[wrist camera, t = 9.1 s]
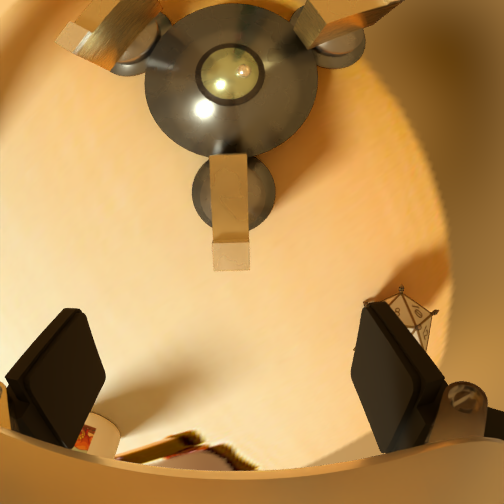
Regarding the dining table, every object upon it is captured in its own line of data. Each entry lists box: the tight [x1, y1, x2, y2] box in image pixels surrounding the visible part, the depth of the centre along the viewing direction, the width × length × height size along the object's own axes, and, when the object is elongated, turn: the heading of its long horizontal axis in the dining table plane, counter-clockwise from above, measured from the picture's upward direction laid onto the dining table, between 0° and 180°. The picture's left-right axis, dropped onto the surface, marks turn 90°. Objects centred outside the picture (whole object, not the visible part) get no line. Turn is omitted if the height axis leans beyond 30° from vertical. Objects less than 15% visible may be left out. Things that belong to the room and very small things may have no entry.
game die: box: [353, 284, 439, 352], centre depth 27 cm, size 9×8×10 cm
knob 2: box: [293, 0, 404, 57], centre depth 17 cm, size 7×5×8 cm
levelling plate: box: [110, 4, 365, 230], centre depth 21 cm, size 22×24×3 cm
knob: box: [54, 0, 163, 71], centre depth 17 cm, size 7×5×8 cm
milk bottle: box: [71, 413, 120, 459], centre depth 27 cm, size 8×8×20 cm
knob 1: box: [200, 153, 266, 271], centre depth 22 cm, size 7×5×8 cm
